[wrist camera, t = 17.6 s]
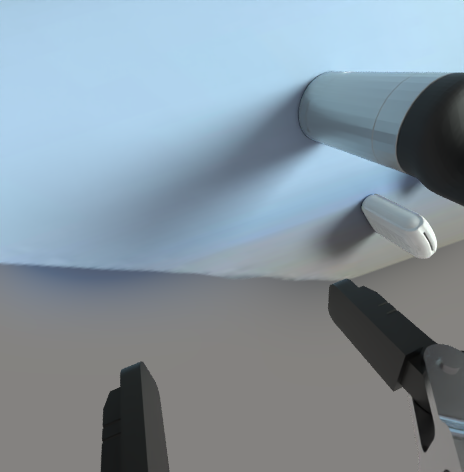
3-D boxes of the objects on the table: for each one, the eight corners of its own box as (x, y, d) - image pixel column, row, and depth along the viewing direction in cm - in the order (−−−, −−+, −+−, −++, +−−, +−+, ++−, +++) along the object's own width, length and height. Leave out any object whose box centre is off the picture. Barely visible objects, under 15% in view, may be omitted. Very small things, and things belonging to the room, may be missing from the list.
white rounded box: (390, 219, 58) (447, 251, 48) (374, 234, 58) (427, 268, 48) (374, 188, 52) (435, 217, 42) (356, 205, 52) (413, 237, 42)
